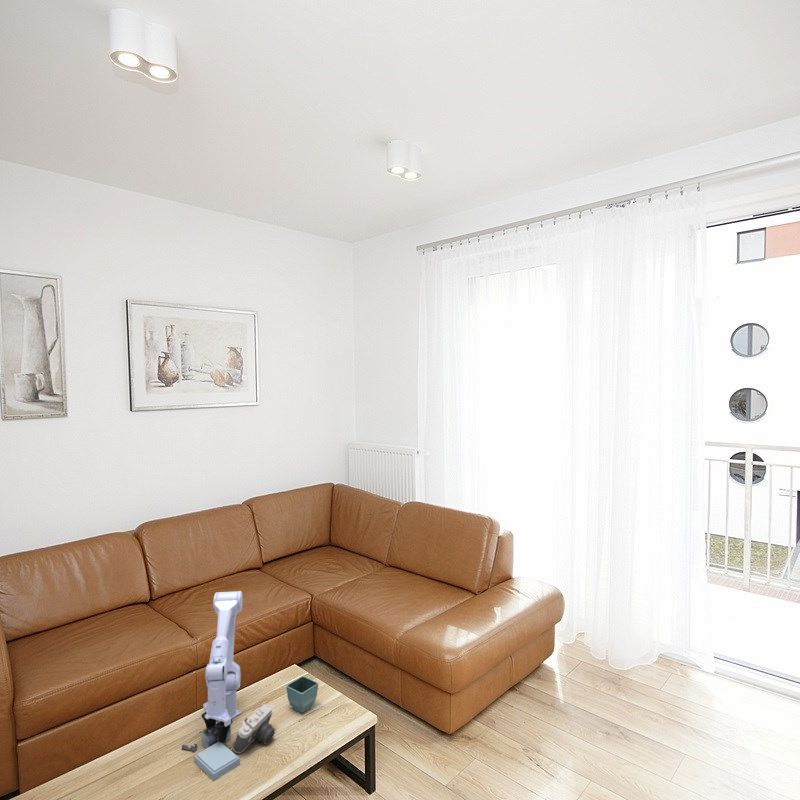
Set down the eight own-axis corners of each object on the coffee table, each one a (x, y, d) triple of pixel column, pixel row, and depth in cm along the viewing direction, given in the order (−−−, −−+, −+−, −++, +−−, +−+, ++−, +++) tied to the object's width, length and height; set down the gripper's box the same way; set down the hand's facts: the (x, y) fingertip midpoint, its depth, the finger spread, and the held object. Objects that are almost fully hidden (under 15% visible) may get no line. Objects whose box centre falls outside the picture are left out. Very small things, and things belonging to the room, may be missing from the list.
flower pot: (302, 697, 198) (302, 675, 198) (319, 706, 193) (319, 682, 193) (285, 709, 191) (285, 685, 191) (301, 718, 186) (301, 694, 185)
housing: (201, 746, 171) (201, 728, 171) (223, 734, 177) (223, 717, 177) (208, 752, 168) (208, 734, 168) (230, 740, 174) (230, 722, 174)
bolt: (180, 750, 169) (180, 744, 169) (184, 746, 171) (184, 740, 171) (194, 752, 168) (193, 746, 168) (197, 748, 170) (197, 742, 170)
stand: (194, 761, 164) (194, 754, 164) (219, 747, 170) (219, 739, 170) (213, 780, 156) (213, 772, 156) (239, 764, 163) (239, 756, 163)
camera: (228, 747, 168) (237, 723, 166) (260, 717, 183) (268, 695, 181) (249, 766, 165) (258, 742, 163) (279, 734, 180) (288, 711, 178)
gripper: (194, 695, 174) (194, 734, 174) (217, 711, 165) (217, 753, 165) (213, 686, 179) (214, 724, 179) (236, 702, 170) (236, 742, 170)
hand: (216, 737), depth 172 cm, fingers open, 6 cm apart
